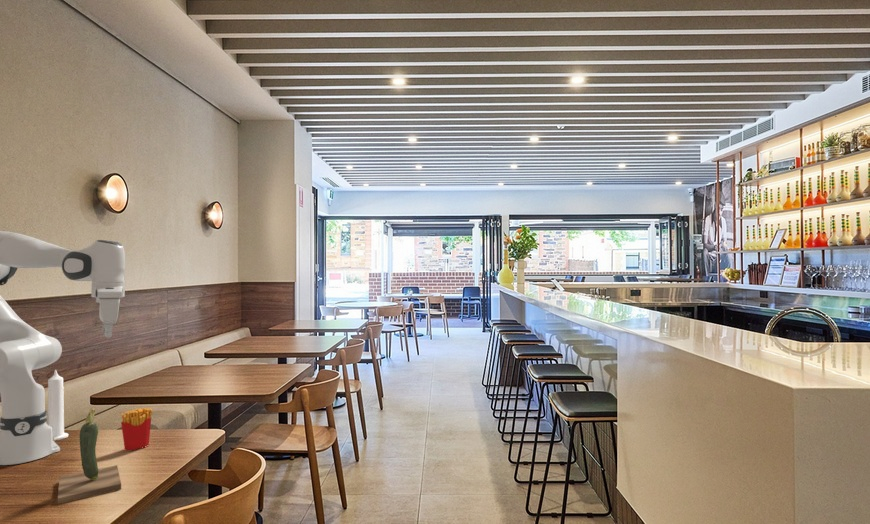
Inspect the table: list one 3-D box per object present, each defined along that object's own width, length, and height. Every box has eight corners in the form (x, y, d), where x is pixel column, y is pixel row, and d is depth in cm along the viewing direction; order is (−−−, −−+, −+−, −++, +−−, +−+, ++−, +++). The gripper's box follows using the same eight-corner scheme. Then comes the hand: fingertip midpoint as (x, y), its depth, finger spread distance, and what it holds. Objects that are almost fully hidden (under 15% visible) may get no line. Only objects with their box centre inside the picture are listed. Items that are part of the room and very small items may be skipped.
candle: (55, 441, 180) (54, 372, 180) (39, 440, 181) (38, 371, 182) (73, 435, 187) (72, 368, 187) (57, 434, 188) (56, 367, 189)
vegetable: (84, 484, 138) (83, 412, 138) (77, 481, 140) (76, 410, 141) (102, 479, 142) (100, 408, 142) (94, 475, 144) (93, 406, 144)
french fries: (123, 452, 167) (122, 413, 167) (120, 449, 170) (120, 411, 170) (154, 445, 173) (153, 408, 173) (151, 442, 176) (150, 405, 176)
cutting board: (59, 482, 144) (59, 477, 144) (117, 470, 152) (117, 465, 152) (57, 504, 130) (57, 498, 130) (121, 489, 138) (121, 483, 138)
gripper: (94, 291, 164) (93, 333, 164) (97, 292, 147) (96, 339, 147) (117, 290, 168) (116, 332, 167) (122, 292, 151) (121, 338, 151)
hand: (107, 335), depth 157 cm, fingers open, 8 cm apart
